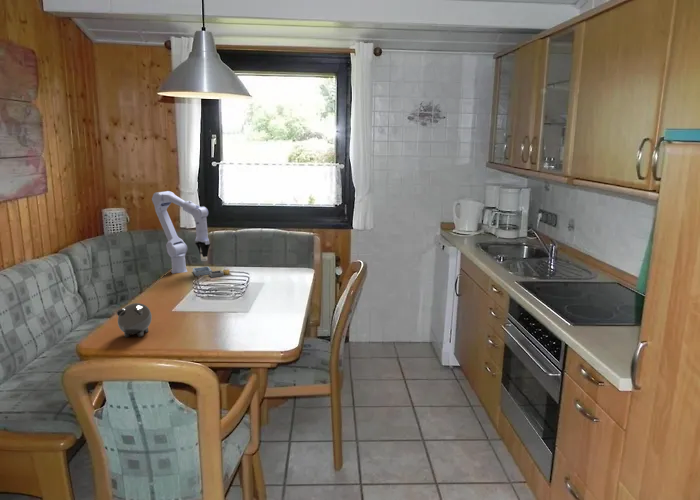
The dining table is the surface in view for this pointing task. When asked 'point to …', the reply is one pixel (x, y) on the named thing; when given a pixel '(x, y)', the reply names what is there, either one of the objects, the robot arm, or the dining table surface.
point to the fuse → (202, 256)
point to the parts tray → (202, 269)
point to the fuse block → (220, 273)
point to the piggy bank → (134, 319)
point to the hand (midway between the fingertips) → (203, 256)
